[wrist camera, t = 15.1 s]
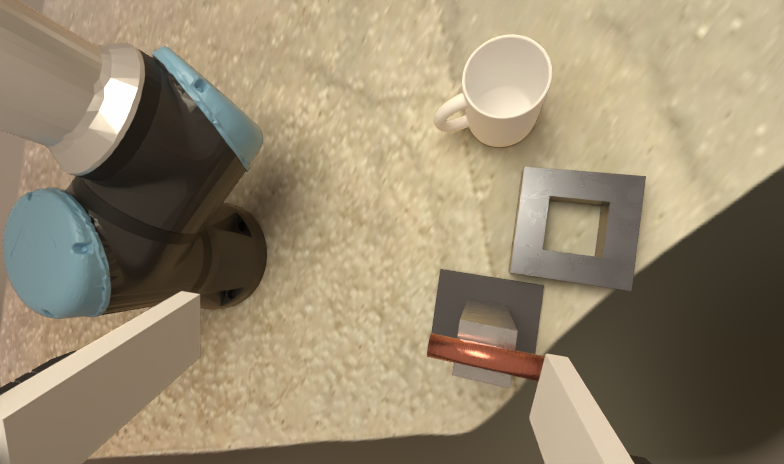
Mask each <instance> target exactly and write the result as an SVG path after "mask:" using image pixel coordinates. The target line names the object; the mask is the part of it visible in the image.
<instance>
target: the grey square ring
mask: <svg viewBox="0 0 784 464" xmlns="http://www.w3.org/2000/svg"><path fill="white" fill-rule="evenodd" d="M645 179H646V176H635V175H623V174H611V173H598V172H586V171H574V170H562V169H549V168H537V167H524V169H523V171H522V175H521V183H520V190H519V198H518V205H517V213H516V220H515V227H514V235H513V242H512V250H511V257H510V264H509V272H510V273H517V274H523V275H530V276H536V277H543V278H549V279H556V280H562V281H569V282H575V283H582V284H588V285H595V286H602V287H608V288H615V289H621V290H628V291H631V290H632V283H633V275H634V267H635V259H636V251H637V243H638V235H639V227H640V219H641V211H642V203H643V195H644V187H645ZM549 200H553V201H563V202H573V203H582V204H592V205H601V212H600V220H599V228H598V235H597V243H596V251H595V257H593V256H585V255H578V254H570V253H563V252H556V251H548V250H543V242H544V234H545V227H546V219H547V212H548V204H549Z"/></svg>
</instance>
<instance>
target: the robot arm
mask: <svg viewBox="0 0 784 464" xmlns="http://www.w3.org/2000/svg"><path fill="white" fill-rule="evenodd" d="M152 55H153V57H150V56H149V55H147V54H145V53H144V52H142V51H141V50H139V49H137V48H136V47H134V46H133V45H131V44H128V43H115V44H107V45H95V44H92V43H90V42H89V41H87V40H85V39H83V38H82V37H80V36H78V35H77V34H75V33H73V32H71V31H70V30H68V29H66V28H65V27H63V26H61V25H60V24H58V23H56V22H54V21H53V20H51V19H49V18H48V17H46V16H44V15H42V14H41V13H39V12H37V11H36V10H34V9H32V8H30V7H29V6H27V5H25V4H24V3H22V2H20V1H18V0H0V130H1V131H4V132H7V133H10V134H13V135H16V136H19V137H21V138H24V139H27V140H30V141H33V142H36V143H39V144H42V145H45V146H46V147H47V148H48V149H49V150H50V152H51V153H52V155H53V156H54V158H55V159H56V161H57V163H58V164H59V166H60V167H61V169H62V170H63V171H65V172H67V173H68V174H71V175H74V176H76V177H75V178H74V180H73V181H72V183H71V184H70V186H69V187H68V188H67V189H66V190H61V189H59V188H52V187H50V188H46V189H37V190H35V191H34V192H28V193H27V194H25V195H23V196H22V197H21V198H20V199H19V200H18V201H17V202H16V204H15V205H14V206H13V208H12V210H11V212H10V214H9V217H8V219H7V222H6V226H5V231H4V239H3V253H4V259H5V266H6V271H7V274H8V277H9V280H10V282H11V285H12V287H13V289H14V290H15V292H16V293H17V295H18V296H19V298H20V299H21V300H22V301H23V302H24V304H25V305H27V306H28V307H29V308H30V309H32V310H33V311H35V312H36V313H38V314H40V315H43V316H46V317H50V318H57V319H63V318H73V317H83V316H85V317H97V316H100V315H105V314H111V313H117V312H122V311H128V310H134V309H140V308H146V307H152V306H155V307H153V308H151V309H149V310H148V311H146V312H144V313H142V314H141V315H139V316H137V317H135V318H134V319H132V320H130V321H129V322H127V323H125V324H123V325H122V326H120V327H118V328H116V329H115V330H113V331H111V332H109V333H108V334H106V335H104V336H102V337H101V338H99V339H97V340H96V341H94V342H92V343H90V344H89V345H87V346H85V347H83V348H82V349H80V350H78V351H73V352H70V353H67V354H64V355H62V356H59V357H56V358H53V359H51V360H49V361H47V362H46V363H44V364H42V365H40V366H39V367H37V368H35V369H33V370H32V372H31V373H26V374H24V375H22V376H21V377H19V378H17V379H15V381H14V382H10V383H8V384H6V385H5V386H3V387H1V388H0V464H82V463H83V462H84V461H85V460H86V459H88V458H89V457H90V456H91V455H92V454H93V453H94V452H95V451H96V450H98V449H99V448H100V447H101V446H102V445H103V444H104V443H105V442H106V441H108V440H109V439H110V438H111V437H112V436H113V435H114V434H115V433H116V432H118V431H119V430H120V429H121V428H122V427H123V426H124V425H125V424H126V423H127V422H129V421H130V420H131V419H132V418H133V417H134V416H135V415H136V414H137V413H139V412H140V411H141V410H142V409H143V408H144V407H145V406H146V405H147V404H149V403H150V402H151V401H152V400H153V399H154V398H155V397H156V396H157V395H159V394H160V393H161V392H162V391H163V390H164V389H165V388H166V387H167V386H168V385H170V384H171V383H172V382H173V381H174V380H175V379H176V378H177V377H178V376H180V375H181V374H182V373H183V372H184V371H185V370H186V369H187V368H188V367H190V366H191V365H192V364H193V363H194V362H195V361H196V360H197V359H198V358H200V308H203V309H219V308H224V307H229V306H233V305H236V304H238V303H240V302H241V301H243V300H244V299H246V298H247V297H248V296H249V295H250V294H251V293H252V292H253V291H254V290H255V288H256V287H257V286H258V284H259V282H260V280H261V278H262V275H263V273H264V269H265V265H266V243H265V239H264V235H263V233H262V230H261V228H260V226H259V225H258V223H257V222H256V220H255V219H254V218H253V217H252V216H251V215H250V214H249V213H248V212H247V211H245V210H243V209H242V208H240V207H237V206H234V205H230V204H225V203H223V202H224V201H225V199H226V198H227V197H228V195H229V194H230V192H231V191H232V190H233V188H234V187H235V185H236V184H237V182H238V181H239V180H240V178H241V177H242V175H243V174H244V173H245V171H246V172H248V171H249V169H250V166H249V165H250V164H251V162H252V161H253V159H254V158H255V156H256V155H257V153H258V151H259V150H260V148H261V146H262V144H263V134H262V131H261V129H260V128H259V126H258V125H257V124H256V123H255V122H254V121H253V120H252V119H250V118H249V117H248V116H247V115H246V114H245V113H244V112H243V111H242V110H241V109H239V108H238V107H237V106H236V105H235V104H234V103H233V102H232V101H230V100H229V99H228V98H227V97H226V96H225V95H224V94H222V93H221V92H220V91H219V90H218V89H217V88H216V87H214V86H213V85H212V84H211V83H210V82H209V81H208V80H206V79H205V78H204V77H203V76H202V75H201V74H200V73H198V72H197V71H196V70H195V69H194V68H193V67H191V66H190V65H189V64H188V63H187V62H186V61H184V60H183V59H182V58H181V57H180V56H178V55H177V54H176V53H175V52H173V51H172V50H171V49H170V48H168V47H166V46H163V47H160V48H159V50H154V52H153V53H152ZM529 419H530V422H531V425H532V428H533V431H534V433H535V436H536V439H537V442H538V445H539V448H540V451H541V453H542V456H543V459H544V462H545V464H651V463H650V462H649V461H648V460H647V459H646V458H642V457H637V456H632V455H629V454H628V453H627V451H626V449H625V448H624V446H623V445H622V443H621V441H620V440H619V438H618V437H617V435H616V434H615V432H614V430H613V429H612V427H611V426H610V424H609V422H608V421H607V419H606V418H605V416H604V414H603V413H602V411H601V410H600V408H599V407H598V405H597V403H596V402H595V400H594V398H593V397H592V396H591V394H590V392H589V390H588V389H587V387H586V386H585V384H584V382H583V381H582V379H581V378H580V376H579V374H578V373H577V371H576V370H575V368H574V367H573V365H572V363H571V362H570V360H569V359H568V357H563V356H557V355H551V354H546V355H545V359H544V363H543V367H542V370H541V374H540V378H539V382H538V386H537V390H536V394H535V397H534V401H533V405H532V409H531V413H530V417H529Z"/></svg>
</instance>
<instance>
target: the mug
mask: <svg viewBox="0 0 784 464" xmlns="http://www.w3.org/2000/svg"><path fill="white" fill-rule="evenodd" d="M551 80H552V65H551V61H550V59H549V56H548V54H547V53H546V51H545V50H544V49H543V47H542V46H541V45H539V44H538V43H537V42H536V41H534V40H532V39H530V38H528V37H525V36H521V35H503V36H498V37H495V38H493V39H491V40H488V41H487V42H485V43H483V44H482V45H481V46H480V47H478V48H477V49H476V50H475V51H474V52H473V54H472V55H471V56H470V58H469V59H468V61H467V63H466V65H465V68H464V71H463V76H462V87H463V93H461V94H459V95H457V96H455V97H453V98H451V99H450V100H448V101H447V102H446V103H444V104H443V105H442V106H441V107H440V108H439V109H438V111H437V112H436V114H435V117H434V124H435V126H436V128H437V129H439V130H440V131H444V132H452V131H458V130H461V129H465V128H468V127H469V128H470V130H471V132H472V134H473V135H474V136H475V137H476V138H477V139H478V140H479V141H480V142H482V143H484V144H486V145H489V146H493V147H506V146H510V145H513V144H516V143H517V142H519V141H521V140H522V139H523V138H525V137H526V136H527V135H528V134H529V132H530V131H531V130H532V128H533V127H534V125H535V123H536V121H537V118H538V116H539V113H540V110H541V108H542V105H543V103H544V100H545V98H546V95H547V92H548V90H549V87H550V84H551ZM463 109H465V110H466V115H465V116H462V117H459V118H457V119H453V120H447V118H448V117H450V116H451V115H452V114H454V113H456V112H458V111H460V110H463Z"/></svg>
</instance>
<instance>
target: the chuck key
mask: <svg viewBox="0 0 784 464" xmlns="http://www.w3.org/2000/svg"><path fill="white" fill-rule="evenodd" d="M517 332H518V331H517V328H516V326H515V324H514V322H513V319H512V317H511V315H510V313H509V310H508V308H507V306H506V304H501V303H495V302H489V301H483V300H478V299H472V298H468V299H467V302H466V305H465V307H464V310H463V313H462V315H461V318H460V322H459V330H458V337H457V338H453V337H448V336H443V335H438V334H433V333H431V335H430V339H429V344H428V351H427V357H431V358H436V359H440V360H445V361H449V362H454V366H453V373H452V375H454V376H458V377H463V378H467V379H471V380H476V381H480V382H484V383H489V384H493V385H497V386H502V387H506V388H510V384H511V377H512V376H517V377H521V378H526V379H531V380H535V381H539V378H540V374H541V370H542V367H543V363H544V359H545V356H541V355H536V354H531V353H526V352H521V351H516V350H515V347H516V339H517Z"/></svg>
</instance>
